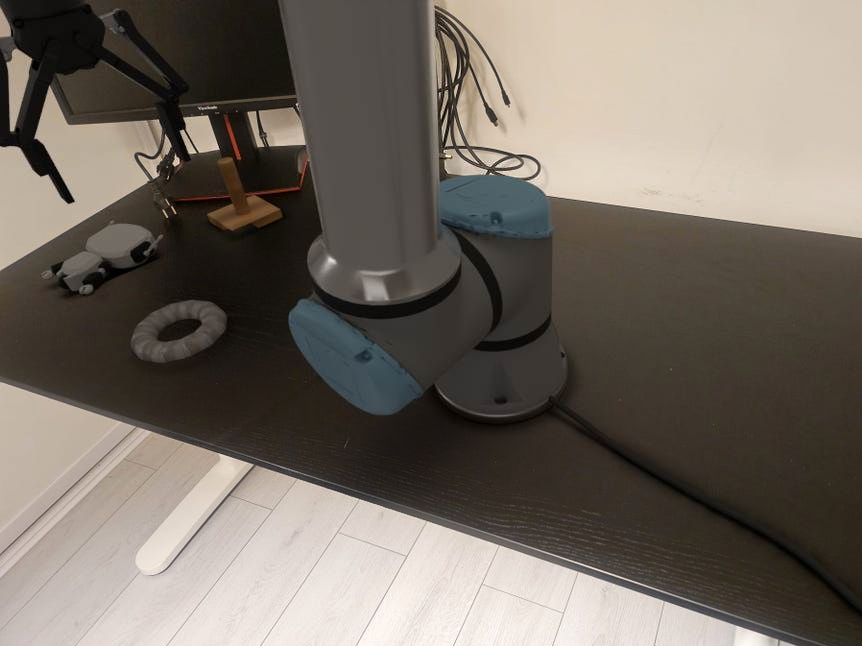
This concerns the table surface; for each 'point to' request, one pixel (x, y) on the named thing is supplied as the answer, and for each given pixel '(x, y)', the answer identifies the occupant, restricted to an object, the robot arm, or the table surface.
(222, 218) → the stand
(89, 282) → the robot toy
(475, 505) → the table surface
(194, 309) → the ring
